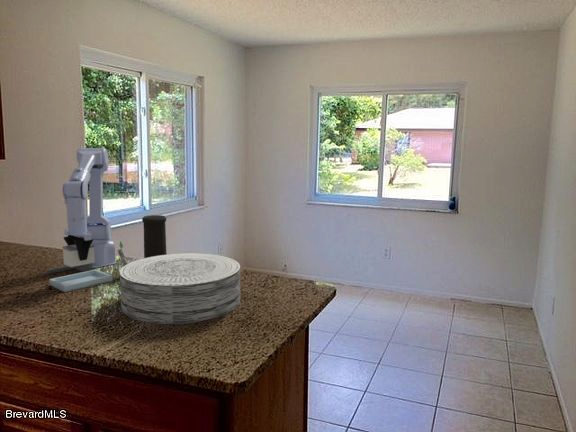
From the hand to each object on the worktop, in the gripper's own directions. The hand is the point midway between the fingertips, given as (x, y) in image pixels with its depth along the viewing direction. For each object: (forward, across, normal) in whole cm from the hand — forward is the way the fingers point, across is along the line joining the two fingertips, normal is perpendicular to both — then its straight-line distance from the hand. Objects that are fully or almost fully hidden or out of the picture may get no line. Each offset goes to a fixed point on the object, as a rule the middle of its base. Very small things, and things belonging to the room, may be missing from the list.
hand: (79, 258), depth 155 cm
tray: (+8, 0, 0) cm, 8 cm away
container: (+9, +3, +27) cm, 29 cm away
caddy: (+2, 0, 0) cm, 2 cm away
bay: (+8, -13, +2) cm, 16 cm away
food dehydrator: (+9, +38, +11) cm, 40 cm away
